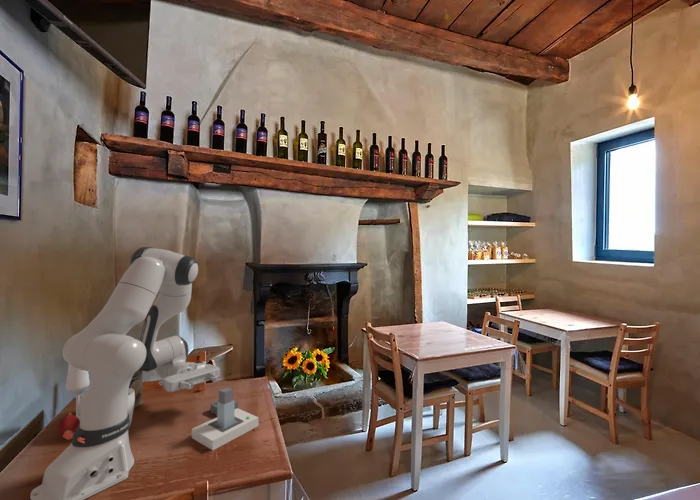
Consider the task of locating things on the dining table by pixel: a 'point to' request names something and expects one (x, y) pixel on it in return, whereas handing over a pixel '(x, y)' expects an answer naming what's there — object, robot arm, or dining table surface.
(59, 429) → the onion
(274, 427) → the dining table surface
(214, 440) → the block
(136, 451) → the dining table surface
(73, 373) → the champagne flute
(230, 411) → the plug
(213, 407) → the holster
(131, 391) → the cup
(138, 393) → the coffee box
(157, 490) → the dining table surface
